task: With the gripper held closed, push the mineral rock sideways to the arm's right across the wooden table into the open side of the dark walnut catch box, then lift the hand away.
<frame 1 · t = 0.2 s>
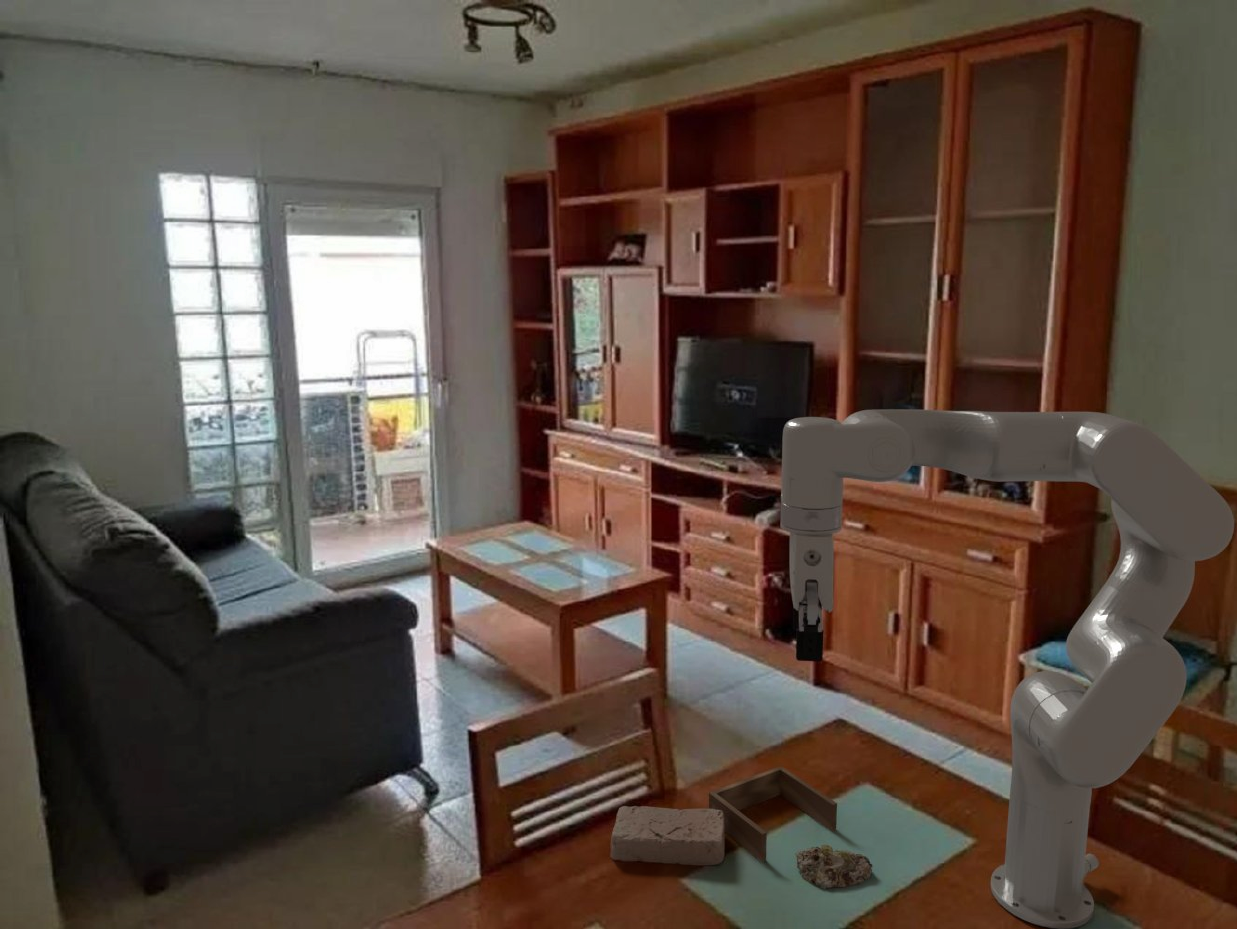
hand: (806, 644, 116), 36 cm above the table, tool pointing down, fingers open, 9 cm apart
brick: (668, 850, 134), on the table
mineral rock: (833, 875, 128), on the table
catch box: (773, 825, 139), on the table
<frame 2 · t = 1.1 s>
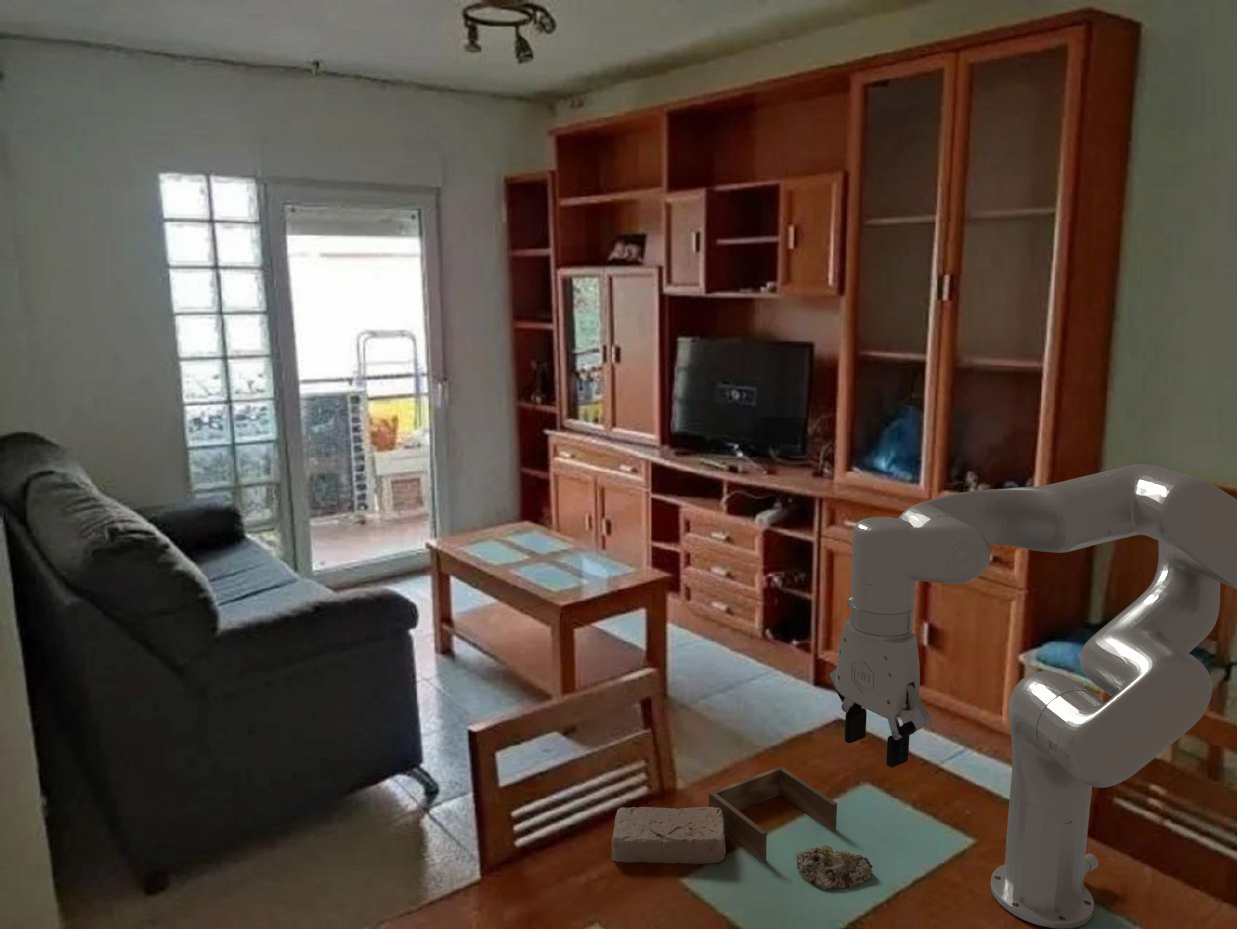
hand: (875, 750, 114), 24 cm above the table, tool pointing down, fingers open, 6 cm apart
nothing on the table moved.
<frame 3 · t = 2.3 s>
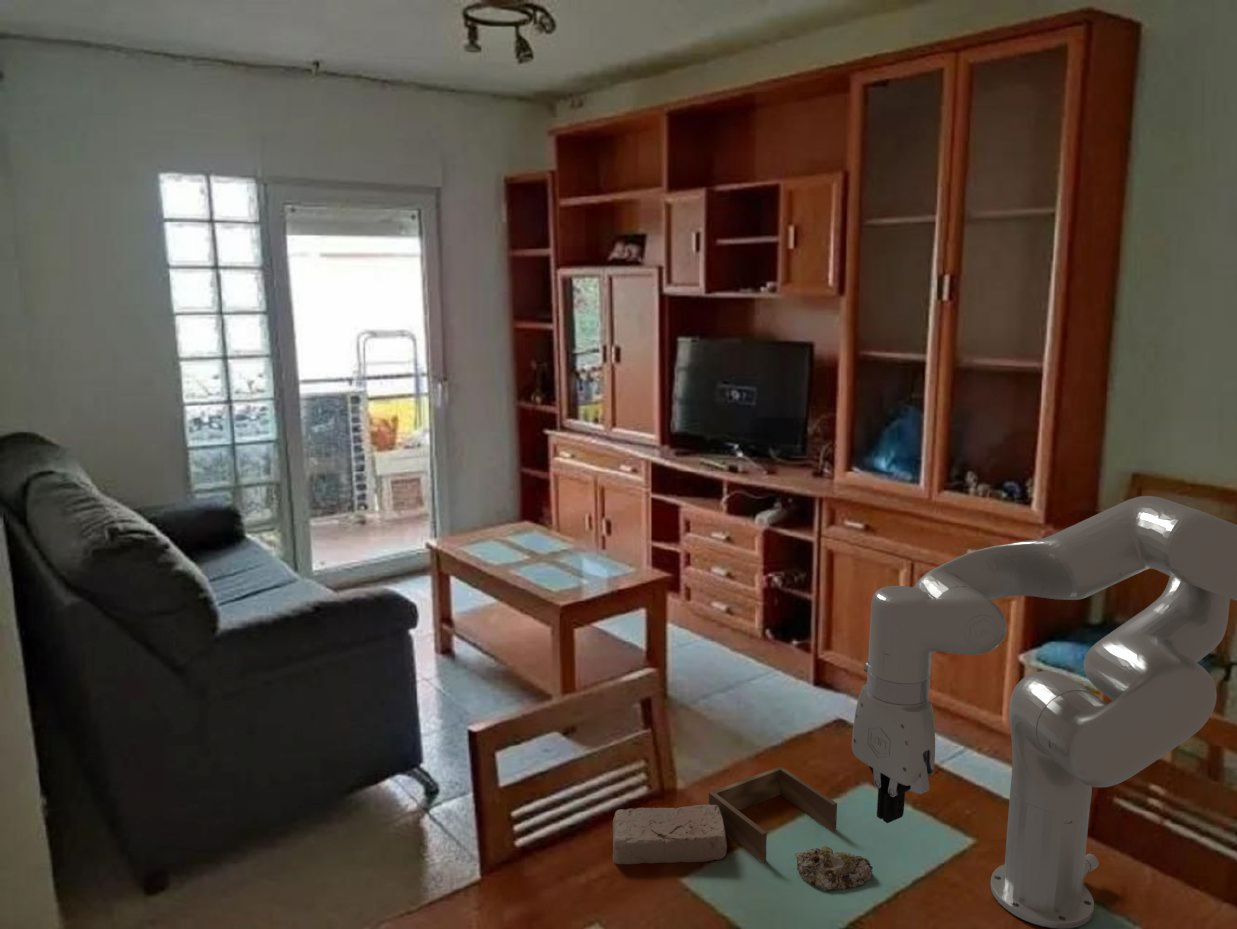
hand: (889, 817, 117), 14 cm above the table, tool pointing down, fingers closed
nothing on the table moved.
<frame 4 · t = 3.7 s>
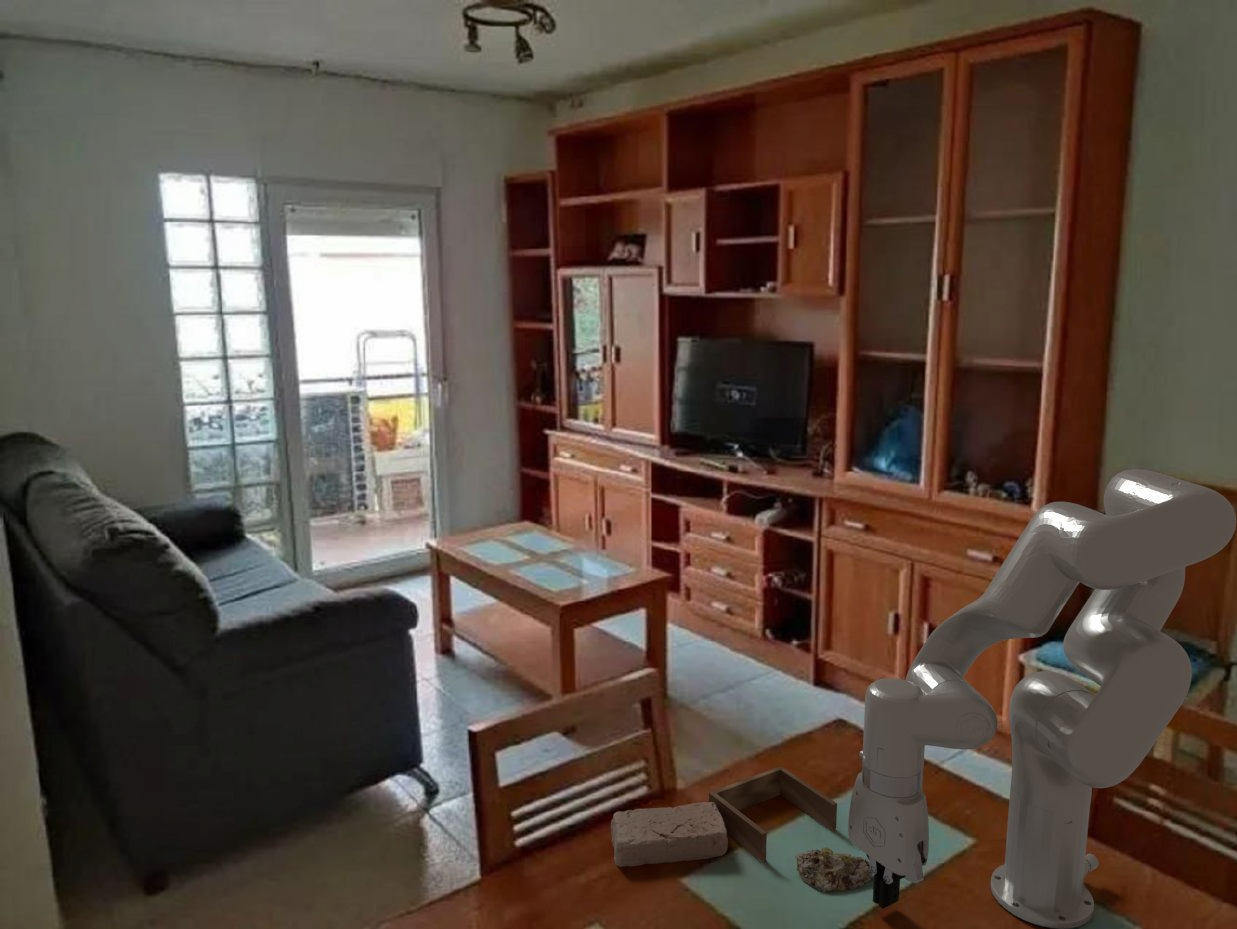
hand: (885, 901, 119), 1 cm above the table, tool pointing down, fingers closed
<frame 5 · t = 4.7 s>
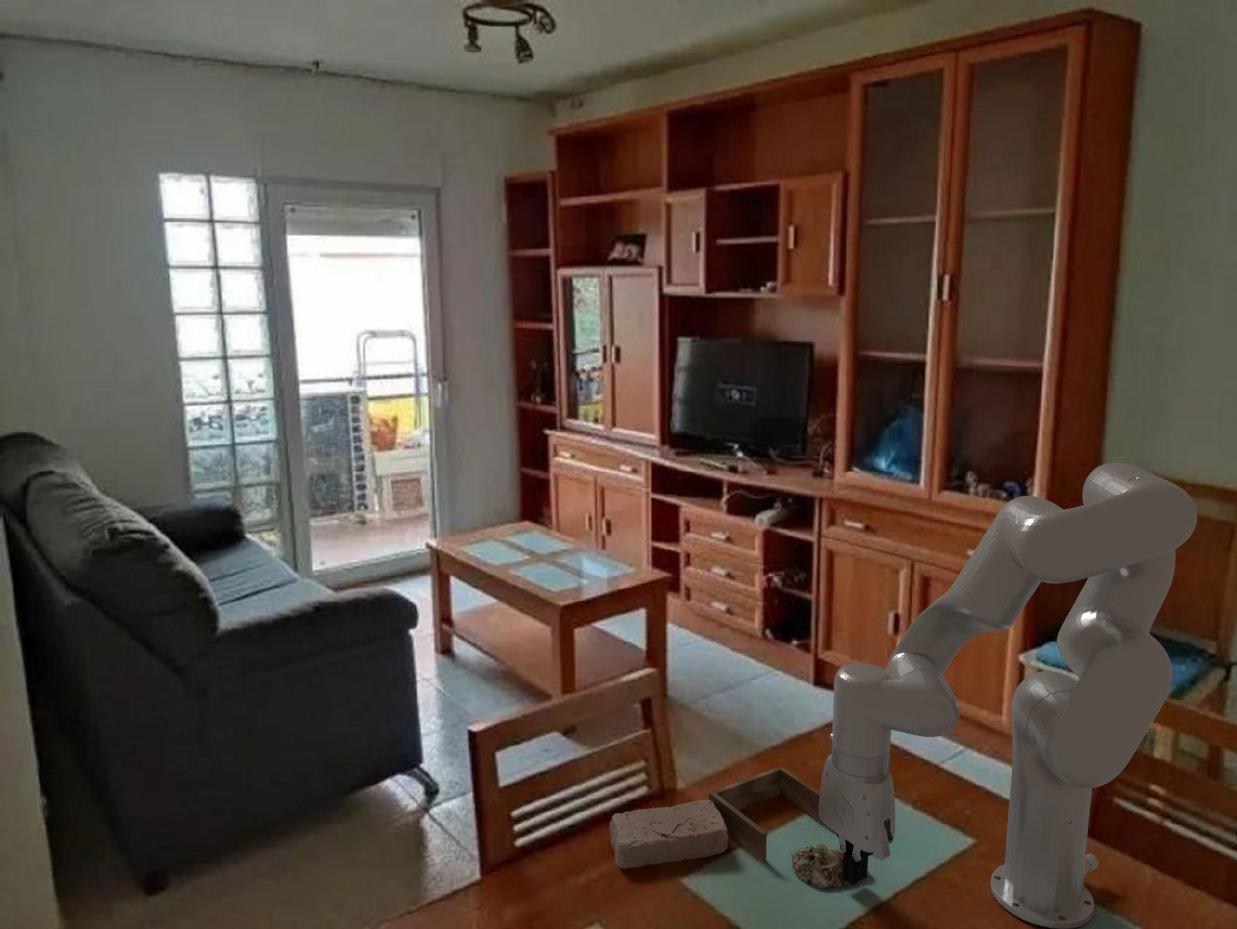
hand: (854, 878, 124), 1 cm above the table, tool pointing down, fingers closed
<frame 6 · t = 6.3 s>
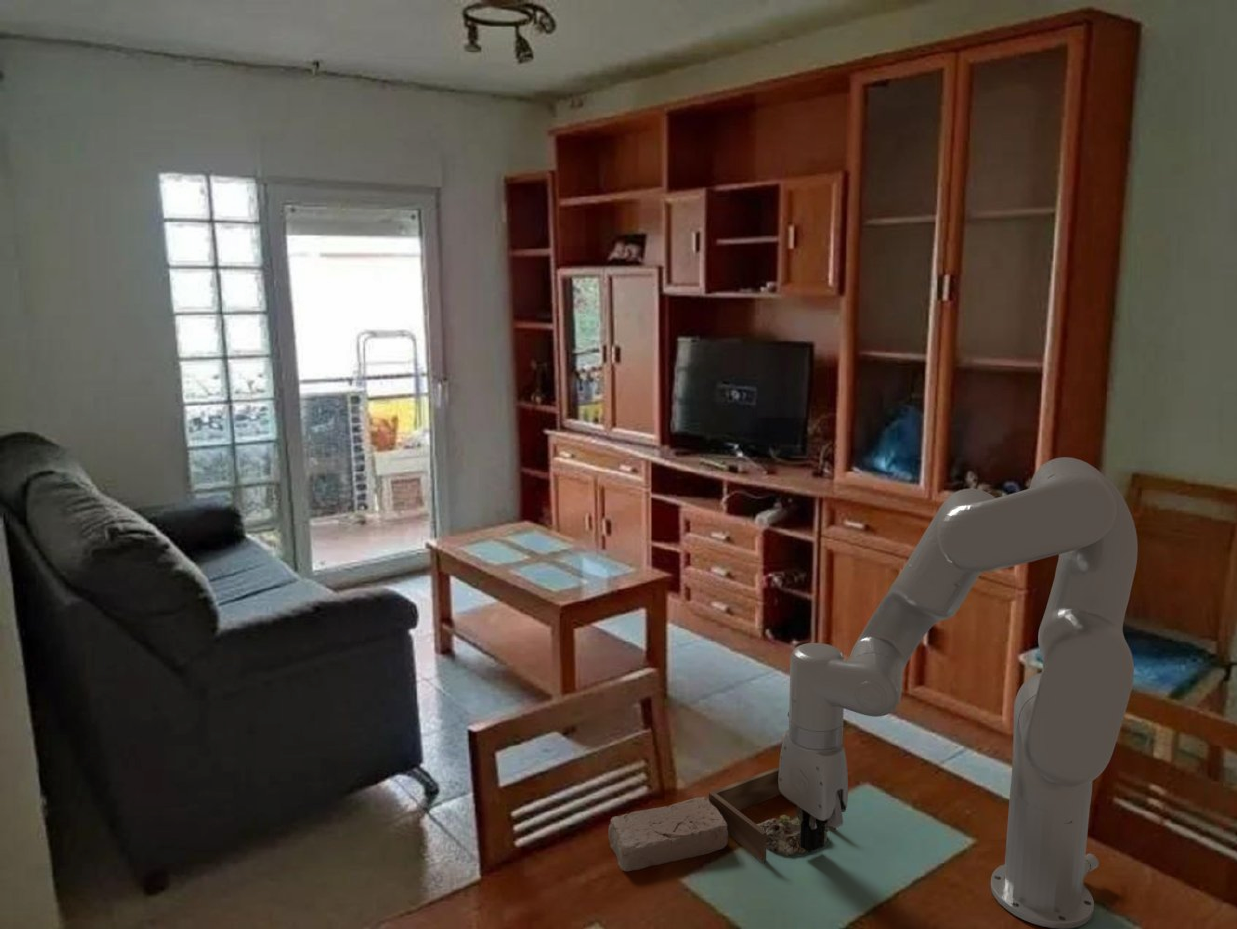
hand: (812, 846, 131), 1 cm above the table, tool pointing down, fingers closed
mineral rock: (792, 842, 135), on the table
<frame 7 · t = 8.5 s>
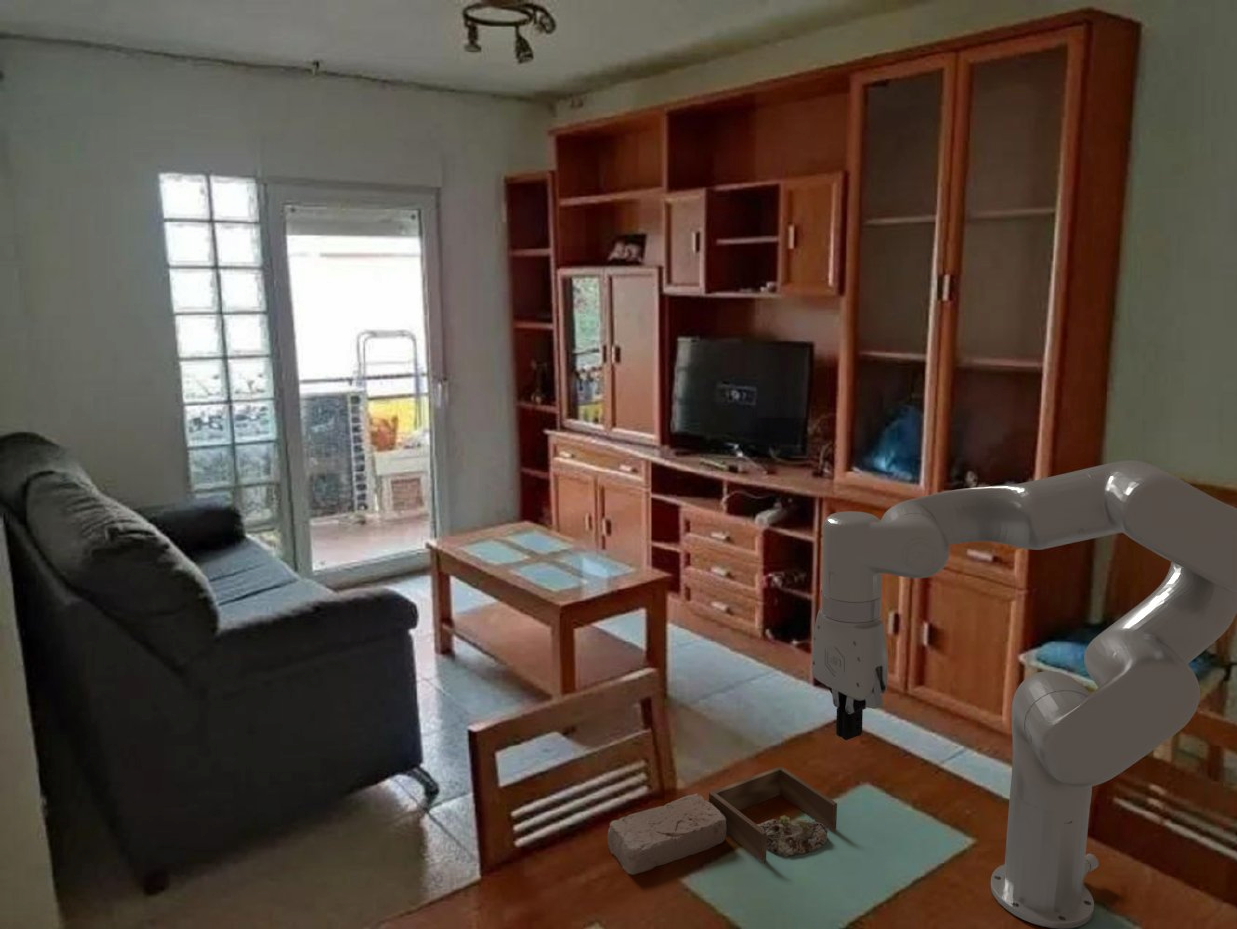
hand: (849, 735, 122), 22 cm above the table, tool pointing down, fingers closed
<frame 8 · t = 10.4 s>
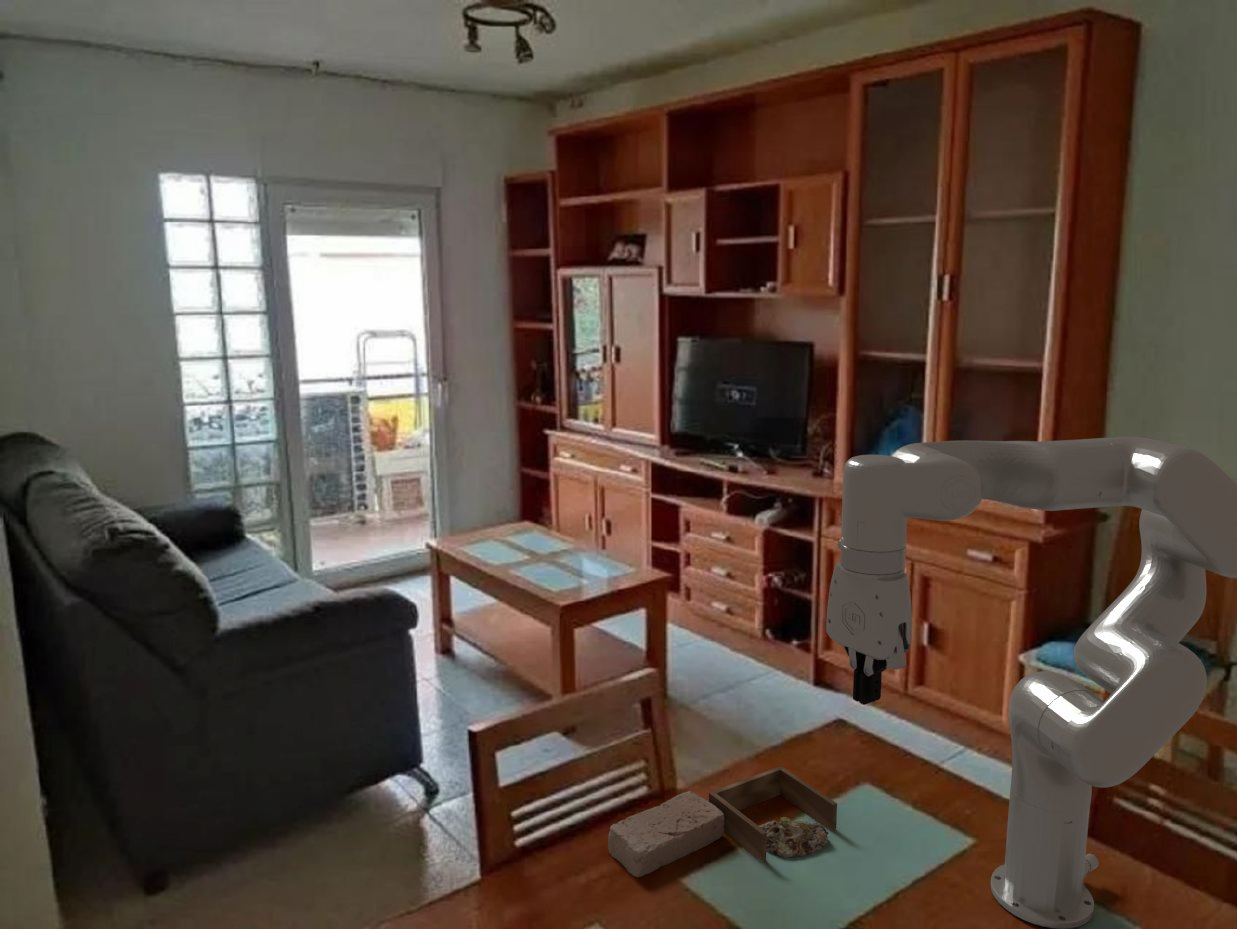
hand: (866, 699, 112), 31 cm above the table, tool pointing down, fingers closed
at the end: mineral rock inside the target area (5.2 cm from its centre), on the table; mineral rock moved 8.3 cm from its start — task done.
